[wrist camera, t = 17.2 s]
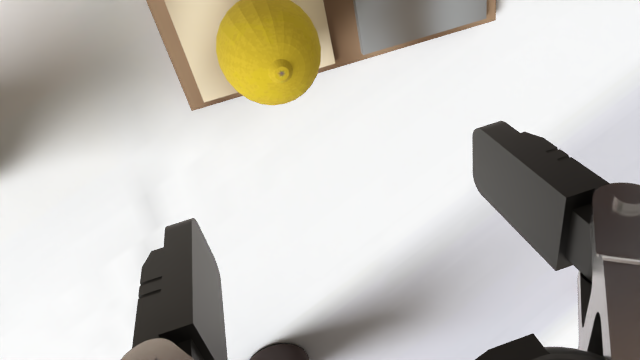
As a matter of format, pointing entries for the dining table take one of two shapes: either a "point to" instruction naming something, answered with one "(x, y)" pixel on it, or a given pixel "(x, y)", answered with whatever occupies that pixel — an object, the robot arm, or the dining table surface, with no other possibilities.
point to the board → (332, 27)
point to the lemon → (268, 50)
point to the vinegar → (281, 353)
